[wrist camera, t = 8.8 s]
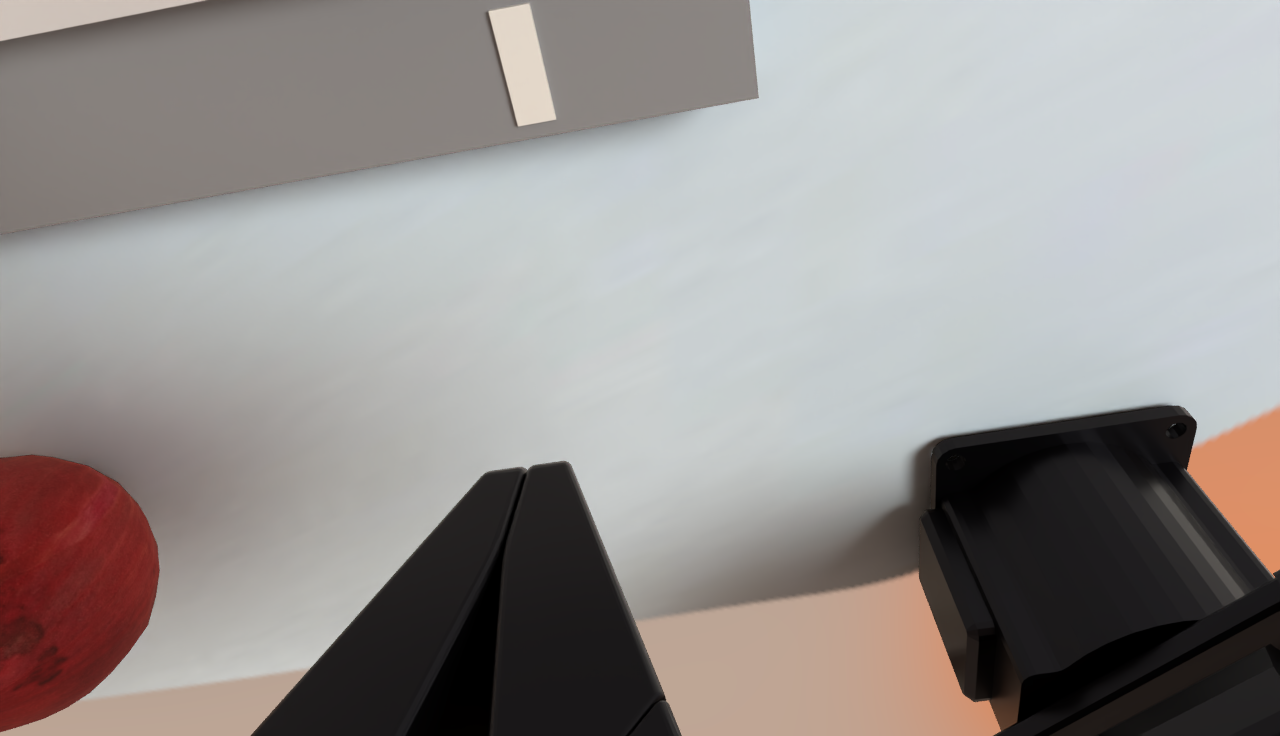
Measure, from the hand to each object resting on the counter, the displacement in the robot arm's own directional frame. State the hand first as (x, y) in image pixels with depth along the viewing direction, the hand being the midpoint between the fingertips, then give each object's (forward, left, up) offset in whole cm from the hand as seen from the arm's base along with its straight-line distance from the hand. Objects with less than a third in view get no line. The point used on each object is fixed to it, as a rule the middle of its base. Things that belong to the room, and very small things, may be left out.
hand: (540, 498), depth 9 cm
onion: (+15, +7, -11) cm, 20 cm away
